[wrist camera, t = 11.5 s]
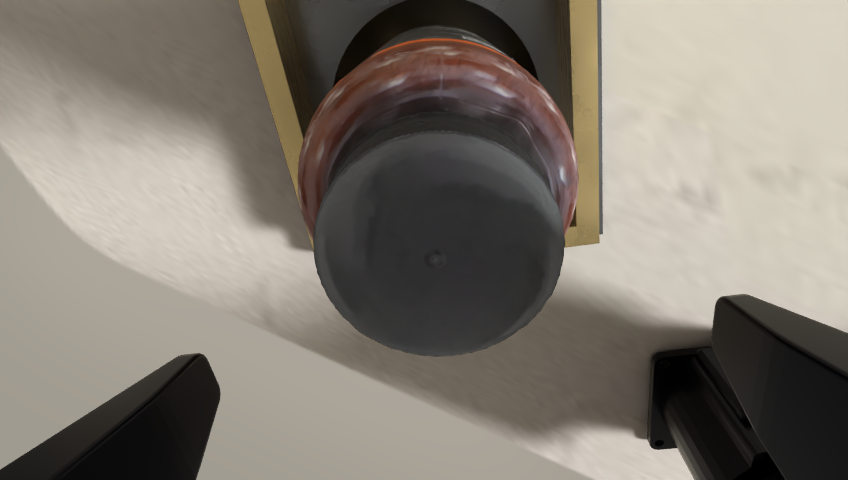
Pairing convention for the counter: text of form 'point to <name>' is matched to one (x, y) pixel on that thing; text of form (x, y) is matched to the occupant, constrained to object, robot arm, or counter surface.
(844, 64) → the counter surface
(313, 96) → the gold-rimmed square tray
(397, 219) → the supplement bottle
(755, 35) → the counter surface
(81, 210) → the counter surface
